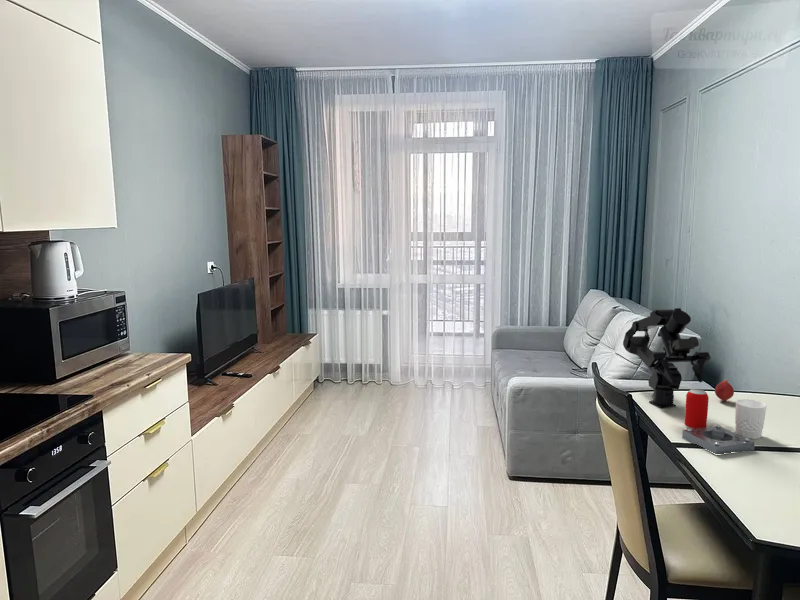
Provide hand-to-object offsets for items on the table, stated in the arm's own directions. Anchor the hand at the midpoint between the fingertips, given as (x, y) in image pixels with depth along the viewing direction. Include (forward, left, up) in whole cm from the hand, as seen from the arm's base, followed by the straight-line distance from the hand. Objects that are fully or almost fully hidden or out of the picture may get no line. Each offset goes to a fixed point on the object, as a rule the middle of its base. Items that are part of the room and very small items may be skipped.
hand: (686, 382), depth 181 cm
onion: (-12, +26, -13) cm, 32 cm away
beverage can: (+6, -2, -13) cm, 15 cm away
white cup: (+15, +10, -13) cm, 22 cm away
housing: (+18, -5, -13) cm, 23 cm away
